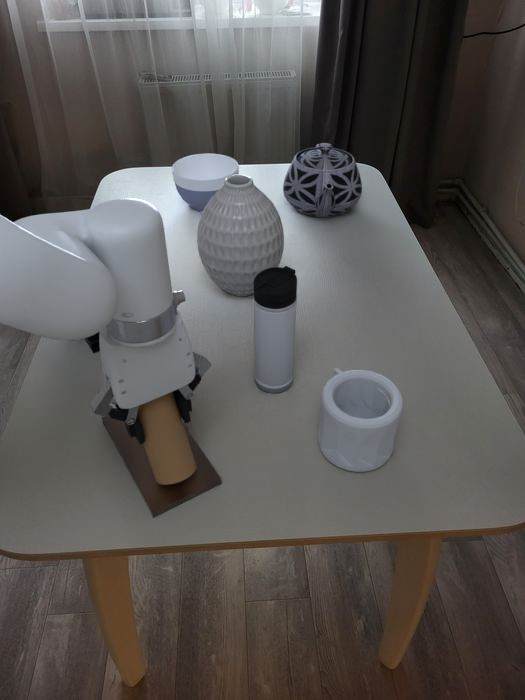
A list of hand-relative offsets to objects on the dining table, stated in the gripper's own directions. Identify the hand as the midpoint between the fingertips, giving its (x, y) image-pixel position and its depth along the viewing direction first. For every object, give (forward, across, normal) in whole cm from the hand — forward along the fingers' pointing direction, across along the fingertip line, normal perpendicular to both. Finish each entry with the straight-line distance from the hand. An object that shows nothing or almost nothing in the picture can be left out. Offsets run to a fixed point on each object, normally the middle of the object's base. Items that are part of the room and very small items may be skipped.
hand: (160, 425), depth 72 cm
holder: (+9, 0, -3) cm, 9 cm away
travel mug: (+9, -22, -7) cm, 25 cm away
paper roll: (+2, 0, -2) cm, 3 cm away
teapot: (+9, -66, -52) cm, 84 cm away
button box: (+9, -4, -34) cm, 35 cm away
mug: (+9, -25, +9) cm, 28 cm away
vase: (+9, -31, -32) cm, 46 cm away
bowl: (+9, -43, -68) cm, 81 cm away
